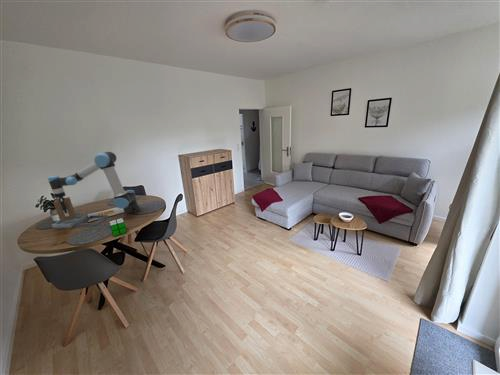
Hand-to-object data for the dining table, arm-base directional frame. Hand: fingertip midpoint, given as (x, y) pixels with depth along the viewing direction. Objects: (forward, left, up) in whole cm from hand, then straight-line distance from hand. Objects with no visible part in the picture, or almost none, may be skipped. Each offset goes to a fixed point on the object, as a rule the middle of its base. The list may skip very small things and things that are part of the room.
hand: (67, 214), depth 188 cm
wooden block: (0, 0, -5) cm, 5 cm away
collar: (-22, -2, -10) cm, 24 cm away
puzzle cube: (-63, +20, -10) cm, 67 cm away
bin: (0, 0, -10) cm, 10 cm away
